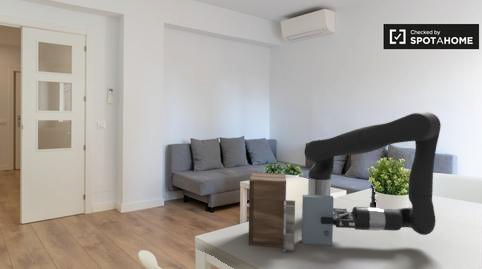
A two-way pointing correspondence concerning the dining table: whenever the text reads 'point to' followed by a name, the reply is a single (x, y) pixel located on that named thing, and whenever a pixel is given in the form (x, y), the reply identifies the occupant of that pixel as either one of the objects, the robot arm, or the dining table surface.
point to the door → (316, 219)
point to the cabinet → (270, 212)
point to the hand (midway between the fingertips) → (319, 216)
